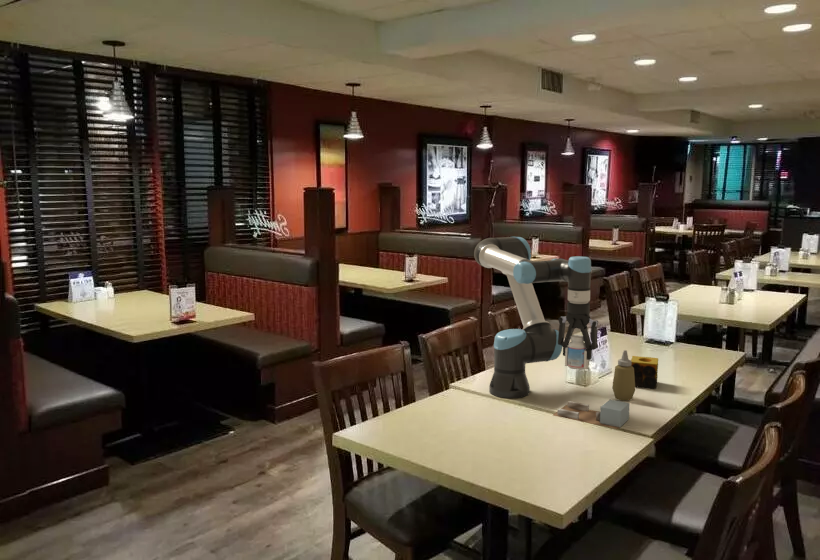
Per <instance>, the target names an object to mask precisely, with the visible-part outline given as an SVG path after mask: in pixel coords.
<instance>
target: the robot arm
mask: <svg viewBox="0 0 820 560" xmlns="http://www.w3.org/2000/svg"><path fill="white" fill-rule="evenodd" d="M531 253H532V249H531V246H530V244H529V243H528V241H527V239H525V238H523V237H521V236H510V237H509V236H508V237H507V236H505V237H488V238H485V239H483V240H481V241H479V242H478V243H477V244H476V246H475V248H474V251H473V257H474V259H475V262H476V263H477V264H478V265H479V266H481V267H484V268H485V269H486V268H487V269H492V268H493V269H496V270H497V271H500V272H501V273H502V274H503V275H505V276H506V277H507V281H508V284H509V287H510V291H511V293H512V295H513V299H514V302H515V304H516V308H517V312H518V314H519V317H520V320H521V323H522V326H523V328H522V329H521V328H509V329H504V330H501V331H499V332H497V333H496V334H495V336H494V342H493V348H494V350H493V352H494V354H493V355H494V356H493V365H494V367H493V368H494V369H493V374H492V377H491V380H490V383H489V393H490V394H491V395H494V396H496V397H500V398H509V399H516V398H517V399H518V398H524V397H527V396H529V394H530V392H531V389H530V388H531V387H530V384H529V381H528V377H527V373H526V364H533V363H534V364H535V363H540V362H549V361H550V362H551V361H555V360H557V359H558V358H559V357H560V355H561V354H562V357H564V367H568V345H569V343H570V342H571V335H573V333H574V330H575V329H578V330H580V332H581V335H582V336H583V339H584V343H585V346H586V350H585V351H584V369H583V370H587V369H589V365H590V364H589V363H590V360H591V359H592V357H593V355H592V353H593V351H594V350H596V349H598V347H599V346H598V325H599V321H598V320H594V319H592V318H591V316H590V315H591V314H590V312H591V309H590V308H591V304H590V303H591V302H590V301H591V286H592V285H591V284H592V283H591V282H592V281H591V279H592V260H591V258H590V257H589V256H582V255H581V256H579V255H577V256H570V257H569V258H568V259H564V258H561V257H560V258H553V259H550V260H531V259H532V254H531ZM550 282H566V283H567V303H566V304H567V305H566V306H567V309H566V312H567V314H566V316H563V315H562V316H560V317H558V323H559V324H558V325H559V327H558V329H555V328H552V325H551V323H550V322H549V321H548V320H545V317H544V314H543V311H542V309H541V306H540V302H539V299H538V296H537V294H536V291H535V288H534V285H533V284H535V283H536V284H538V283H550ZM566 322H567V323H568V324H569V325H568V328H567V332H566V334H565V331H566ZM588 324H589V326H590V335H589V331H588V330H589V328H588Z"/></svg>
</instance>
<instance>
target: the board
mask: <svg viewBox="0 0 820 560" xmlns="http://www.w3.org/2000/svg"><path fill="white" fill-rule="evenodd" d="M552 416H553V417H559V418H562V419H563V418H564V419H569V420H572V421H577V422H582V423H586V424H592V425H596V426H601V427H605V428H611V429H614V430H615V429H616V430H619V429H620V427H616V426H611V425H606V424H602V423H600V410H599V411H598V410H594V409H593V410H592V409H590V404H586V403H581V402H576V401H571V400H569V401H567V404H565V405H564V406H563V407H561V408H558V409H557V410H556V412H554V413H553V414H552Z"/></svg>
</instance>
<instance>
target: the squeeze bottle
mask: <svg viewBox="0 0 820 560" xmlns="http://www.w3.org/2000/svg"><path fill="white" fill-rule="evenodd" d="M631 363H632V361H631V359H629V355H628V350H626V349H624V350H623V352H622V355H621V358H619V359H618V360H617V365H616V366H615V367H614V374H613V381H612V387H611V388H612V391H613V396H614V398H615V399H616V400H617V401H622V402H629V401H632V400H633V397H634V396H635V392H636V387H635V376H634V367H632V366H631Z"/></svg>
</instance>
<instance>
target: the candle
mask: <svg viewBox="0 0 820 560" xmlns="http://www.w3.org/2000/svg"><path fill="white" fill-rule="evenodd" d="M630 360H631V361H632V363H631V366H632V367H634V376H635V388H641V389H649V390H657V387H658V369H659V357H650V356H640V355H639V356H638V355H637V356H636V355H632V356H631V359H630Z"/></svg>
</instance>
